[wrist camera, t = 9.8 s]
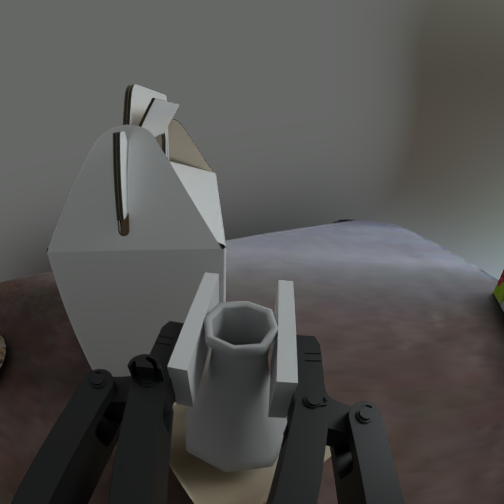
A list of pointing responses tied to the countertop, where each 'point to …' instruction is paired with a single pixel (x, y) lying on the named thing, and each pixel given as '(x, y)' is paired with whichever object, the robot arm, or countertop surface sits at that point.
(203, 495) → the beech box
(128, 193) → the gable box
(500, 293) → the snack box
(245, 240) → the countertop surface
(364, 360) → the countertop surface
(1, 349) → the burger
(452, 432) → the countertop surface
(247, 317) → the flask
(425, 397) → the countertop surface
